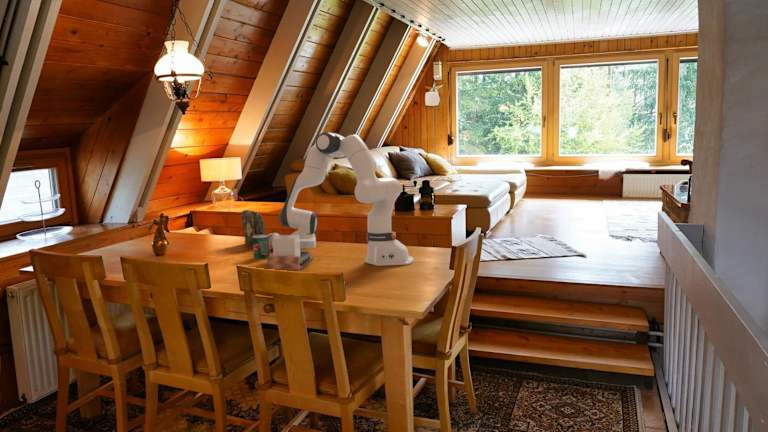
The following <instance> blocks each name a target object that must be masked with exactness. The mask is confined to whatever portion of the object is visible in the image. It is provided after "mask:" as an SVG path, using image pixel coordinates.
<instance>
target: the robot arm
mask: <svg viewBox="0 0 768 432" xmlns="http://www.w3.org/2000/svg"><path fill="white" fill-rule="evenodd" d="M317 135H318V136H317V137H316V139H315V145H312V146H311V147H310V148H309V150H308V152H307V155H306V159H305V162H304V165H303V166H304V167H303V170H302V171H301V173H300V174H298V175H296V176H295V177H294V180H293V181H292V184H291V186H290V188H289V189H290V190H289V191H288V195H287V197H286V200H285V203H284V204H283V207H282V209H281V211H280V213H279V217H278V221H279V223H280V224H281V225H282V227H285V228H293V229H296V230H295V231H294V232H292V233H291V234H290V235H300V251H301V250H304V249H305V250H306V249H315V248H316V247H317V246H316V245H317V238H316V234H315V233H316V231H317V228H318V223H319V219H318V216H317V214H316V213H315V212H314V211H311V210H308V209H307V210H306V209H301V208H297V207H296V208H295V207H294V206H295V204H296V201H297V198H298V197H299V196H298V195H299V193H300V192H301V190H303V189H306V188H311V187H316V186H317V187H318V186H319V185H320V184H322V183H323V182H324V181H325V178H326V175H327V170H328V167H329V162H330V161H331V160H332V159H333V160H338V159H345V158H346V159H347V161H348V164H349V165H350V167H351V168H352V170H353V173H354V174H355V178H356V185H355V188H354V195H355V198H356V200H357V201H358V202H360V203H362V204H371V205H372V204H373V206H372V207H371V210H370V211H369V212H368V214H367V216H366V217H367V218H366V219H367V222H366V223H367V232H366V244H367V251H366V256H365V257H366V258H365V260H364V262H365V264H368V265H369V264H370V265H373V266H376V267H379V266H380V267H382V266H402V265H403V266H404V265H405V266H407V265H411V264H412V263H413V262H414V257H413V256H411V255H410V254H409V250H408V248H407V246H406V245H405V244H403V243H402V242H401V241H399V240H398V239H396V238H397V234H396V231H393V230H392V215H393V208H394V205H395V202H396V201H397V199H398V197H399V196H400V195H401V193H402V192H401V191H402V185H401V182H400V181H399V180H398V179H397V178H394V177H388V176H386V177H379V178H378V177H377V175H376V171H375V170H376V169H377V165H378V164H377V161H376V159H375V157H374V156H373V154H372V153H371V150H370V149H369V148H368V146H367V145H366V143H365V142H364V141H363V139H362V138H361V137H360V136H359V135H357V134H350V135H347V136H343V135H341V134H339V133H334V132H330V131H324V132H321V133H319V134H317ZM272 246H273V241H272Z"/></svg>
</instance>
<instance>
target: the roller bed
mask: <svg viewBox="0 0 768 432" xmlns="http://www.w3.org/2000/svg"><path fill="white" fill-rule="evenodd" d="M266 260H267V270H268V269H275V270H287V271H300V270H301V271H302V269H303V268H304V267H305V268H306V267H307V266H308V265H309V264H311V263H312V262H313V261H314V256H310V258H308V260H305V262H303V264H302V265H300V261H299V256H274V255H270V256H268V257H267V259H266ZM305 268H304V269H305ZM304 269H303V270H304ZM301 271H300V272H301Z"/></svg>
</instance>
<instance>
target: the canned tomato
mask: <svg viewBox="0 0 768 432" xmlns="http://www.w3.org/2000/svg"><path fill="white" fill-rule="evenodd" d="M252 248H253V249H252V250H253V259H254V260H257V261H258V260H260V261H261V260H267V257H268V256H271V250H270V249H271V248H270V247H269V234H264V235H255V236H253V247H252Z"/></svg>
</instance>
